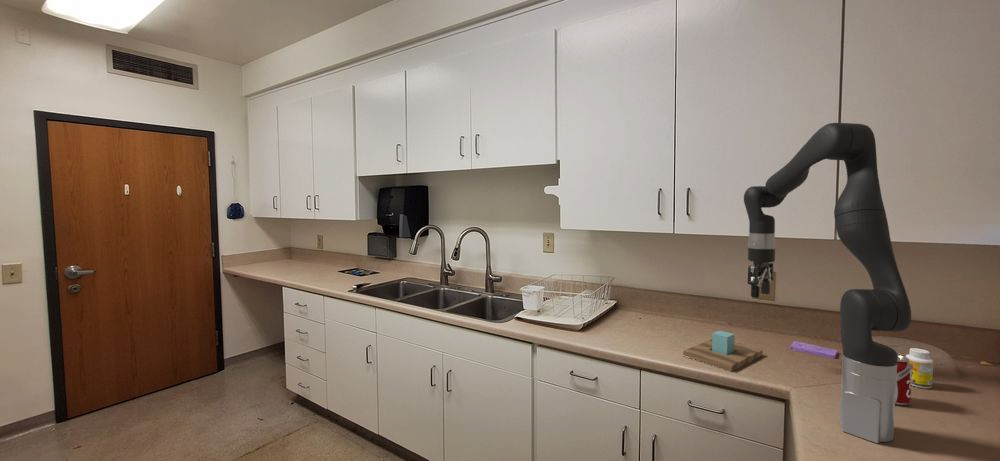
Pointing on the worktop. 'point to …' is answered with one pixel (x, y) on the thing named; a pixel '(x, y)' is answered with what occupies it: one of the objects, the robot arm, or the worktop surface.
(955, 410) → the worktop surface
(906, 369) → the soda can
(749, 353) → the socket board
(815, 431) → the worktop surface
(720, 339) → the teal block
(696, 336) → the worktop surface
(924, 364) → the supplement bottle
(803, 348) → the sponges
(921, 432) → the worktop surface
